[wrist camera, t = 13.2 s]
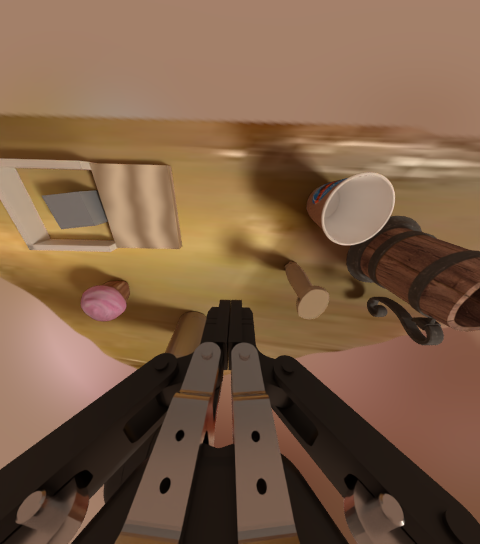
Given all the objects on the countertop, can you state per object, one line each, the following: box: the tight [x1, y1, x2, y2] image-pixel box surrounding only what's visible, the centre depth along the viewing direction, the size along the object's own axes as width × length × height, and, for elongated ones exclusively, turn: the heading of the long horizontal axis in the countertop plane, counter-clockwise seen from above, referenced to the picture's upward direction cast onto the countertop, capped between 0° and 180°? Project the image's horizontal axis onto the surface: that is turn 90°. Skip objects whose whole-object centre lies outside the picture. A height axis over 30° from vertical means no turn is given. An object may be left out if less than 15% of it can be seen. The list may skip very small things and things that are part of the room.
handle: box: [285, 261, 329, 319], centre depth 36 cm, size 5×6×15 cm
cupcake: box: [81, 281, 130, 321], centre depth 41 cm, size 9×9×10 cm
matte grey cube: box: [42, 190, 108, 229], centre depth 34 cm, size 7×6×5 cm
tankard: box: [347, 216, 480, 345], centre depth 34 cm, size 24×17×20 cm
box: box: [0, 158, 117, 252], centre depth 35 cm, size 17×16×4 cm
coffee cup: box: [307, 172, 395, 245], centre depth 31 cm, size 10×10×12 cm
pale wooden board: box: [89, 163, 182, 249], centre depth 36 cm, size 14×16×2 cm
